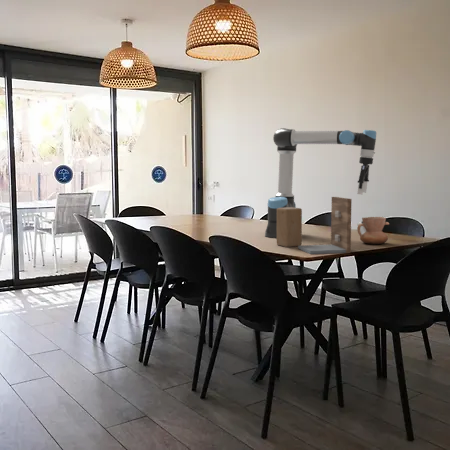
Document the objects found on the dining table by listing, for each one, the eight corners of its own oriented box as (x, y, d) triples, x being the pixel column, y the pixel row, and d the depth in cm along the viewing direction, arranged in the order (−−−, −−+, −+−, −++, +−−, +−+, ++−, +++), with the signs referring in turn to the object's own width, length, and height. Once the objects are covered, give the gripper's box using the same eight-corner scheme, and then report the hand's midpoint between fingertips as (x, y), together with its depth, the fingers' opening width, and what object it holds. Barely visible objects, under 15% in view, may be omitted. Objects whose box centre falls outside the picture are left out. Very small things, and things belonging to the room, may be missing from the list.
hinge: (375, 237, 309) (369, 221, 308) (367, 240, 309) (362, 224, 308) (368, 233, 325) (363, 218, 324) (361, 236, 326) (355, 221, 325)
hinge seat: (310, 254, 250) (310, 250, 250) (298, 248, 268) (298, 245, 268) (345, 252, 253) (345, 249, 253) (331, 247, 271) (331, 244, 271)
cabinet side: (344, 253, 252) (345, 198, 249) (328, 247, 272) (329, 196, 269) (350, 252, 253) (351, 198, 250) (334, 246, 272) (335, 196, 270)
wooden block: (286, 247, 272) (286, 208, 270) (275, 245, 281) (276, 207, 279) (302, 246, 276) (302, 208, 274) (291, 243, 285) (291, 207, 283)
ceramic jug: (382, 241, 292) (382, 215, 291) (394, 244, 278) (394, 217, 277) (351, 242, 290) (351, 217, 288) (362, 246, 276) (362, 219, 274)
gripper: (369, 158, 292) (364, 195, 296) (376, 157, 315) (371, 192, 319) (356, 156, 295) (351, 194, 299) (363, 156, 318) (358, 190, 322)
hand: (361, 193), depth 309 cm, fingers open, 13 cm apart
